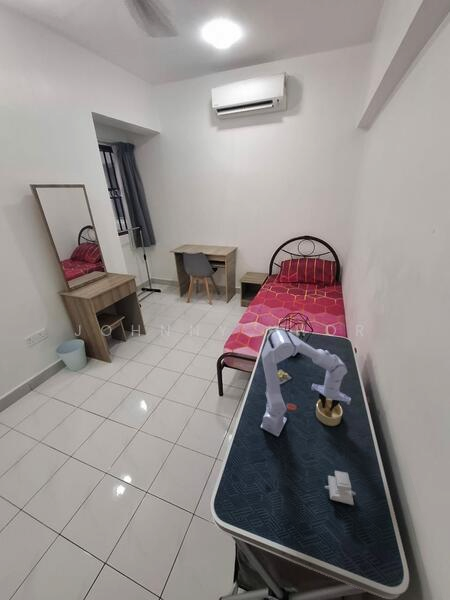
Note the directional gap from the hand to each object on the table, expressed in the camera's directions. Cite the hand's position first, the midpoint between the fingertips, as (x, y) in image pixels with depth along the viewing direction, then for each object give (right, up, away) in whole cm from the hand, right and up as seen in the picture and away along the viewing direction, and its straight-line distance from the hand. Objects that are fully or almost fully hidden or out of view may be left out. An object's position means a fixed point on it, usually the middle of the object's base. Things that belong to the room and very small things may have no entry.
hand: (327, 407), depth 100 cm
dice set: (-14, +5, +24) cm, 29 cm away
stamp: (-6, -18, -23) cm, 30 cm away
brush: (0, -4, +2) cm, 4 cm away
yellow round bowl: (+1, -4, +3) cm, 5 cm away
